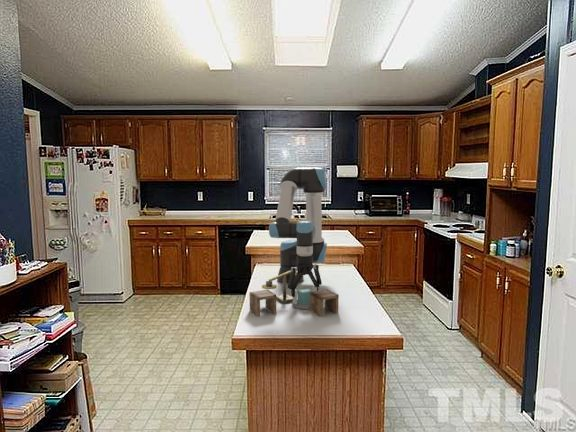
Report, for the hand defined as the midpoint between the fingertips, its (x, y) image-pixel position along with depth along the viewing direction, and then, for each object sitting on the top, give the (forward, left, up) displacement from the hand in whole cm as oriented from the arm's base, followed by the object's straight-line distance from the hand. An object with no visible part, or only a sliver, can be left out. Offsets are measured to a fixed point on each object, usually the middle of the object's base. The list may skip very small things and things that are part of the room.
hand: (304, 301), depth 186 cm
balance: (-11, -5, -2) cm, 12 cm away
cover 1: (-1, -21, -2) cm, 21 cm away
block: (0, 0, -1) cm, 1 cm away
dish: (0, 0, -2) cm, 2 cm away
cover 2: (+12, +3, -2) cm, 13 cm away
